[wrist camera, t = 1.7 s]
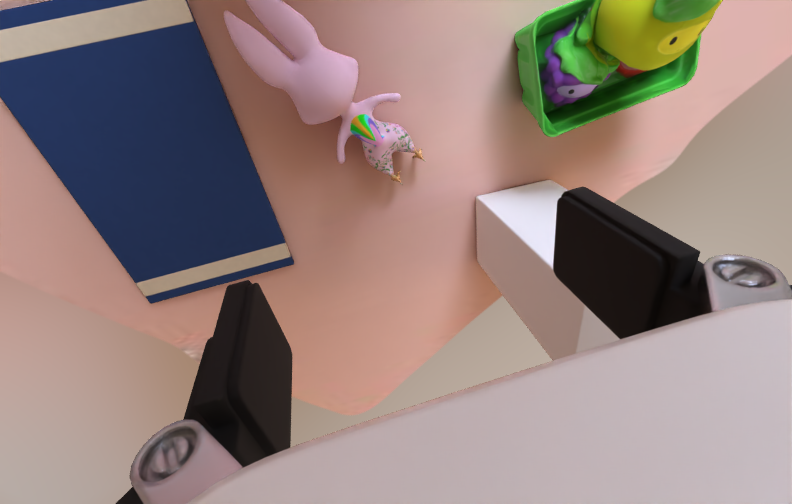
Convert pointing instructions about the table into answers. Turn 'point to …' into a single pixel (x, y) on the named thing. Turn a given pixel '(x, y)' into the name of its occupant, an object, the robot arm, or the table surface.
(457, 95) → the table surface
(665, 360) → the robot arm
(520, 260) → the milk carton
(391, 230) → the table surface
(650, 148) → the table surface
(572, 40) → the fruit basket
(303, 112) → the rabbit figure
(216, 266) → the cloth
